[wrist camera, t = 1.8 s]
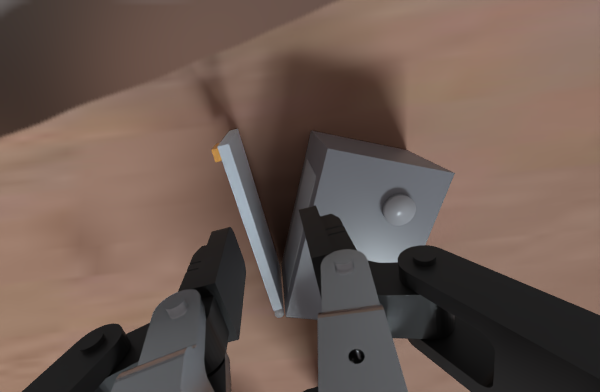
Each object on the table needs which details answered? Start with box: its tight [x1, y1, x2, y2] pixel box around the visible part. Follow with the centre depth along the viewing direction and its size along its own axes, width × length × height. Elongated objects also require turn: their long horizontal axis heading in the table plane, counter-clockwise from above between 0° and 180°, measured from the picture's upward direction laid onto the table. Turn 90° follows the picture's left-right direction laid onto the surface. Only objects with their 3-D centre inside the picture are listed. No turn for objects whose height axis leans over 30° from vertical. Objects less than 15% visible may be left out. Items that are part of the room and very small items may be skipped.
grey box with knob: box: [281, 131, 455, 320], centre depth 27 cm, size 17×10×9 cm, turn 168°
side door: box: [212, 129, 284, 318], centre depth 26 cm, size 16×2×7 cm, turn 13°
